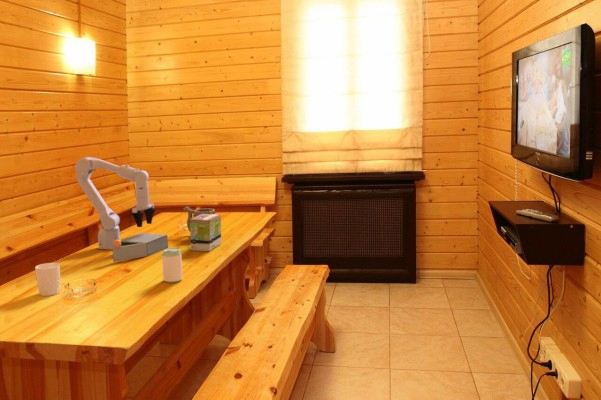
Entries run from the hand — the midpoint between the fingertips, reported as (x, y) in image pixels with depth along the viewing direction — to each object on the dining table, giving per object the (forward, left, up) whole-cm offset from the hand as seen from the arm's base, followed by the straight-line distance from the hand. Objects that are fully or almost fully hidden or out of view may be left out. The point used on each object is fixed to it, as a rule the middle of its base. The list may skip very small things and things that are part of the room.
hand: (144, 225), depth 262 cm
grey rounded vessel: (+14, +27, -11) cm, 32 cm away
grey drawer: (+7, -21, -10) cm, 25 cm away
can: (+41, -42, -11) cm, 60 cm away
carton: (+3, -6, -10) cm, 13 cm away
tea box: (+28, +8, -11) cm, 31 cm away
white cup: (+7, -68, -11) cm, 69 cm away
